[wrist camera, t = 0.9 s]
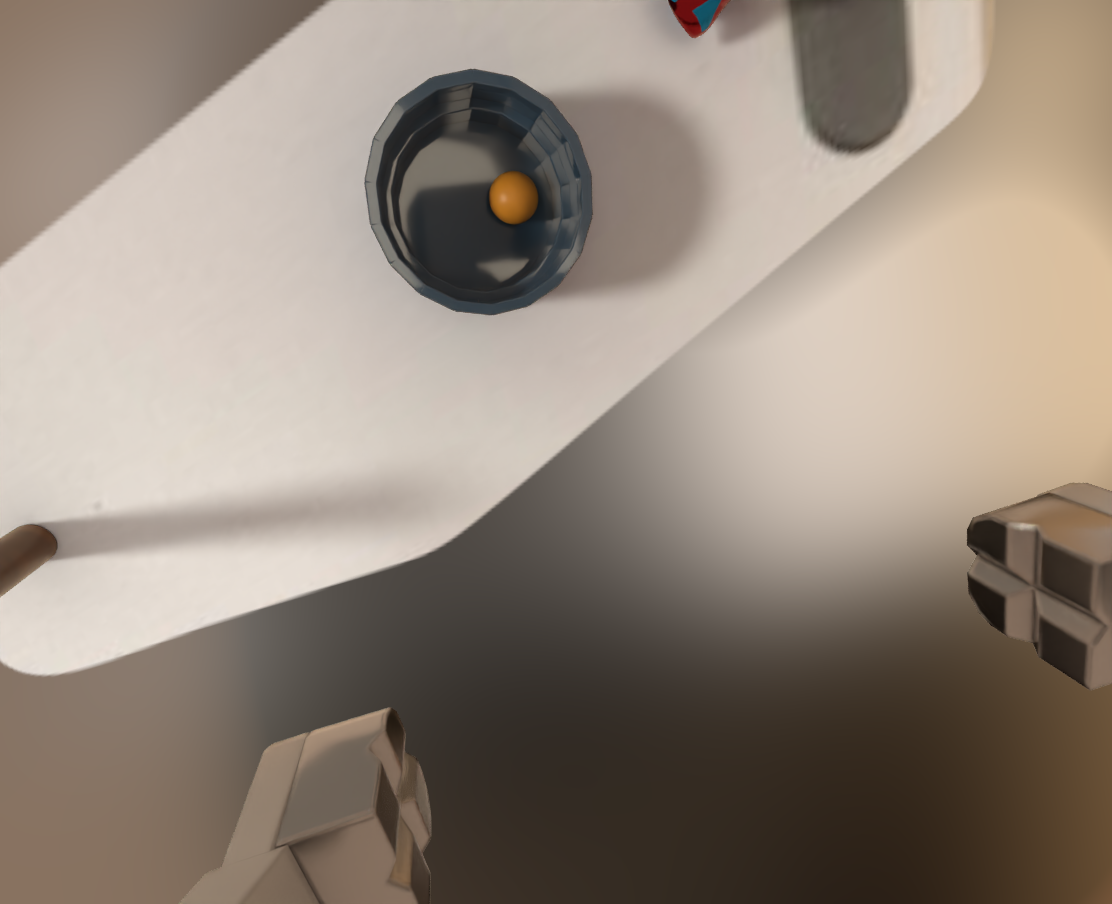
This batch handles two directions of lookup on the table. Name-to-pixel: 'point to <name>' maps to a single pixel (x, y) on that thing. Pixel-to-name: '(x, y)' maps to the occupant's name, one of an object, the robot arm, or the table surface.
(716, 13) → the hoverbike
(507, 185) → the bead
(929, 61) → the table surface
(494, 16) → the table surface
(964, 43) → the table surface
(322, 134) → the table surface
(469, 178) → the bowl
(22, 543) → the stick
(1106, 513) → the robot arm
